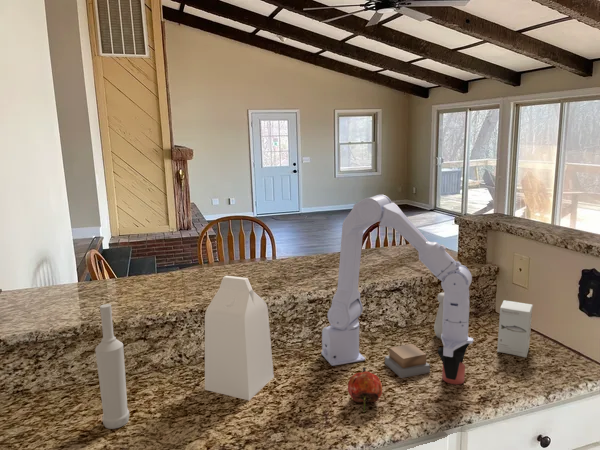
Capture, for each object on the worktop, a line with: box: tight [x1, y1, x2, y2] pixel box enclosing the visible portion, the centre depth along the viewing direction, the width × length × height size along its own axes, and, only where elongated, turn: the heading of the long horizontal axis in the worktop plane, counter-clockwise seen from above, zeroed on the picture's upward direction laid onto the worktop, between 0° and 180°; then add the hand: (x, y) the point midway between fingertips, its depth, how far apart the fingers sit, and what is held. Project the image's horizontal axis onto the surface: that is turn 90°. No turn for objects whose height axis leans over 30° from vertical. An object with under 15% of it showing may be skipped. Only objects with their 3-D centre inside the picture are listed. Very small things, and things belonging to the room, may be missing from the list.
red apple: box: [347, 366, 384, 413], centre depth 99 cm, size 7×7×10 cm
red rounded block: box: [441, 362, 466, 385], centre depth 108 cm, size 5×5×4 cm
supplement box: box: [496, 299, 534, 358], centre depth 122 cm, size 7×7×13 cm
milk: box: [204, 275, 275, 401], centre depth 107 cm, size 12×12×26 cm
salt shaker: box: [433, 291, 444, 340], centre depth 132 cm, size 6×6×13 cm
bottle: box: [94, 303, 130, 430], centre depth 92 cm, size 5×5×25 cm
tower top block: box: [388, 343, 427, 368], centre depth 114 cm, size 6×6×2 cm
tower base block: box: [384, 355, 431, 379], centre depth 114 cm, size 8×8×2 cm
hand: (453, 373), depth 108 cm, fingers closed on red rounded block, 5 cm apart
